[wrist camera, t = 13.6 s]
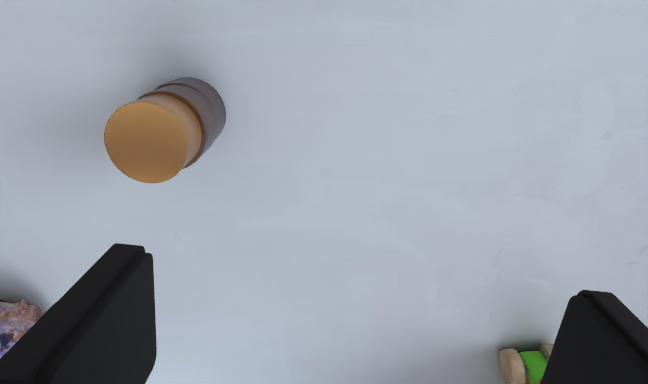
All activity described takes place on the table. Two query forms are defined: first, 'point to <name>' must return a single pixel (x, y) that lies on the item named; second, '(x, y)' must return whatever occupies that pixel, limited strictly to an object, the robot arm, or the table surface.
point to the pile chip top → (200, 109)
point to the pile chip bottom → (208, 94)
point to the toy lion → (524, 365)
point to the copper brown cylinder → (152, 138)
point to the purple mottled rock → (15, 322)
